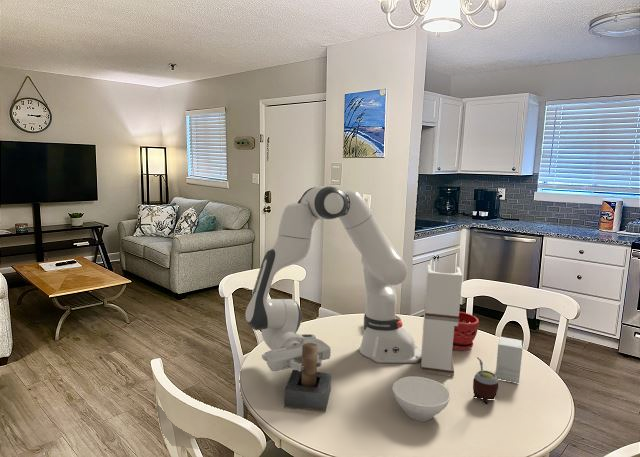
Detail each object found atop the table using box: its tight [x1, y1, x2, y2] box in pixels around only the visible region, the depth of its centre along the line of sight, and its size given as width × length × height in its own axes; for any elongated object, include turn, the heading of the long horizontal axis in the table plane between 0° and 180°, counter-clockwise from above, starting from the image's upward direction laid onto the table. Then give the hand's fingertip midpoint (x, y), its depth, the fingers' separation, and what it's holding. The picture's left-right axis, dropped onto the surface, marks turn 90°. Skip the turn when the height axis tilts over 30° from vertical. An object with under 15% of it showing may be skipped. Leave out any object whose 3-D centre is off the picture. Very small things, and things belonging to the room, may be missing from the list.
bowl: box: [391, 376, 451, 422], centre depth 123 cm, size 16×16×7 cm
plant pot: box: [452, 311, 480, 351], centre depth 169 cm, size 13×13×12 cm
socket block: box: [283, 369, 332, 413], centre depth 128 cm, size 12×12×6 cm
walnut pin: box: [301, 343, 318, 387], centre depth 127 cm, size 4×4×15 cm
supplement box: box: [495, 336, 523, 384], centre depth 144 cm, size 7×7×13 cm
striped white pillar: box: [420, 264, 463, 377], centre depth 149 cm, size 11×11×35 cm
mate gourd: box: [472, 356, 499, 405], centre depth 130 cm, size 8×8×15 cm
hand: (310, 366), depth 126 cm, fingers closed on walnut pin, 4 cm apart
